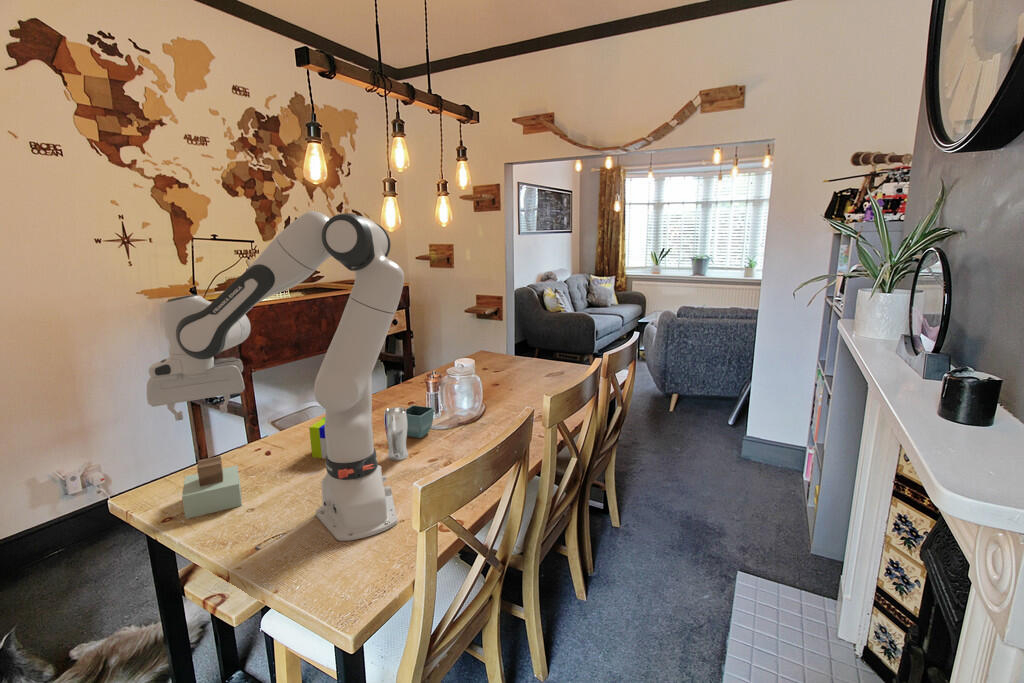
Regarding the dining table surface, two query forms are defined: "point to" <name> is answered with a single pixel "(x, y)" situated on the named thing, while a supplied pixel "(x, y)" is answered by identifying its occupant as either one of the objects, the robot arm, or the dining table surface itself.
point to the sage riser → (211, 494)
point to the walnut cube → (210, 471)
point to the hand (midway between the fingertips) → (202, 415)
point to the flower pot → (419, 420)
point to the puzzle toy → (318, 439)
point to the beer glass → (396, 432)
